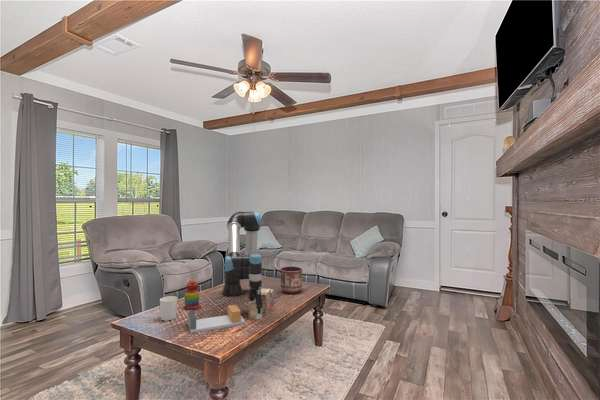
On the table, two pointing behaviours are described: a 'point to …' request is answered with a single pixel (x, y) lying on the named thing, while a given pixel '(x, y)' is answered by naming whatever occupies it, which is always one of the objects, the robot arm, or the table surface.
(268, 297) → the stack of blocks
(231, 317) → the block
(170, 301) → the candle holder
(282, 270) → the pottery
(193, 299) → the stacking bear
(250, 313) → the maple block
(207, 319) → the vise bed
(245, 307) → the table surface
